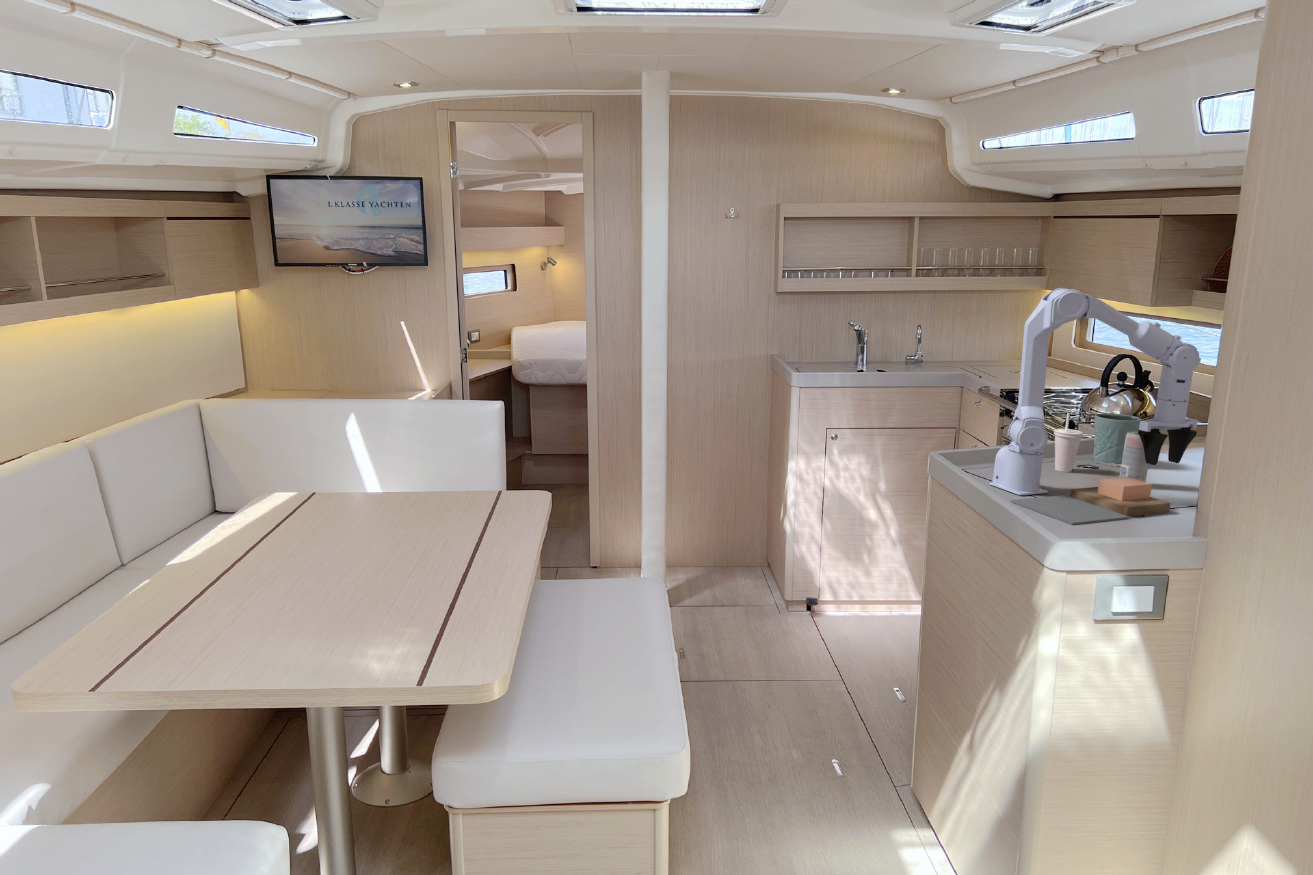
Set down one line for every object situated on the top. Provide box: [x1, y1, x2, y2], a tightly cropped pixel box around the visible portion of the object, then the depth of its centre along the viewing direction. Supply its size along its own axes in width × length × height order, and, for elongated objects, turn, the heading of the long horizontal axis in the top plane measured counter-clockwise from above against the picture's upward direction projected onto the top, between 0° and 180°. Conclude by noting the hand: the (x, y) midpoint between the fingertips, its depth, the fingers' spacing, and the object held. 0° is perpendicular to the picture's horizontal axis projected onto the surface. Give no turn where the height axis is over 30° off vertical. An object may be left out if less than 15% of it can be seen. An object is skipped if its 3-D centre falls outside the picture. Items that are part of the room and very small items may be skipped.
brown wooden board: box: [1069, 486, 1171, 518], centre depth 185 cm, size 14×12×2 cm
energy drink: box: [1118, 431, 1149, 482], centre depth 201 cm, size 5×5×12 cm
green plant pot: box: [1092, 412, 1142, 464], centre depth 223 cm, size 10×10×12 cm
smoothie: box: [1053, 412, 1084, 473], centre depth 213 cm, size 6×6×14 cm
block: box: [1097, 476, 1153, 501], centre depth 185 cm, size 6×8×3 cm
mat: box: [1010, 494, 1130, 526], centre depth 180 cm, size 16×15×1 cm
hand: (1162, 463), depth 187 cm, fingers open, 6 cm apart
